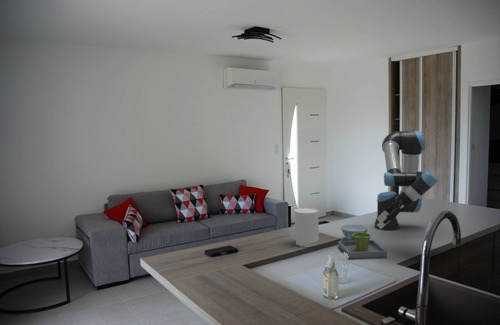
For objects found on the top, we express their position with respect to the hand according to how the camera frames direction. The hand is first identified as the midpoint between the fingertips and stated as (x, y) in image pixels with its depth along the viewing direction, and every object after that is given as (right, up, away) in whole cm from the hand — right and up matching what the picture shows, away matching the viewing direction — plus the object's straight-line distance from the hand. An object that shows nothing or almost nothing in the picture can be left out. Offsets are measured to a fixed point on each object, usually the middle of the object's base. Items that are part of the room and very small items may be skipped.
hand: (378, 223), depth 204 cm
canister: (-35, -16, +21) cm, 44 cm away
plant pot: (-8, -15, +4) cm, 18 cm away
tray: (-8, -16, +4) cm, 18 cm away
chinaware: (-6, -14, +25) cm, 29 cm away
